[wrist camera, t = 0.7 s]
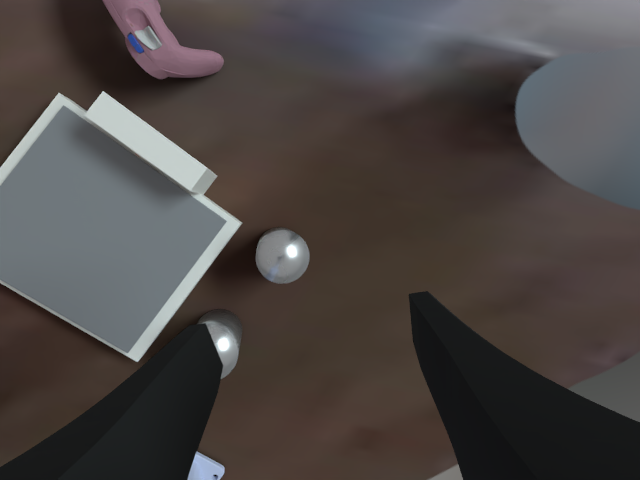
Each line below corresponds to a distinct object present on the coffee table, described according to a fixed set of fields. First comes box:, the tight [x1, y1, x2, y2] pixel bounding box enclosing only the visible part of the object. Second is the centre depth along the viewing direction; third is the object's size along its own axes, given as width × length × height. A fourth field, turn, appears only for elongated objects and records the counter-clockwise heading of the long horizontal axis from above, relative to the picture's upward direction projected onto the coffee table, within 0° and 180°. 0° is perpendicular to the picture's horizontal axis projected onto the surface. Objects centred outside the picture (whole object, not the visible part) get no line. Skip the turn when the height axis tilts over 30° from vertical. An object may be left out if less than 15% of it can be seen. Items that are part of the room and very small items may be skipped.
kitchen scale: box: [0, 91, 242, 362], centre depth 24 cm, size 16×16×5 cm
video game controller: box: [102, 0, 224, 79], centre depth 23 cm, size 10×5×7 cm, turn 25°
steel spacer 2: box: [256, 227, 309, 283], centre depth 27 cm, size 4×4×5 cm
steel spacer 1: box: [197, 309, 242, 379], centre depth 26 cm, size 4×4×5 cm
